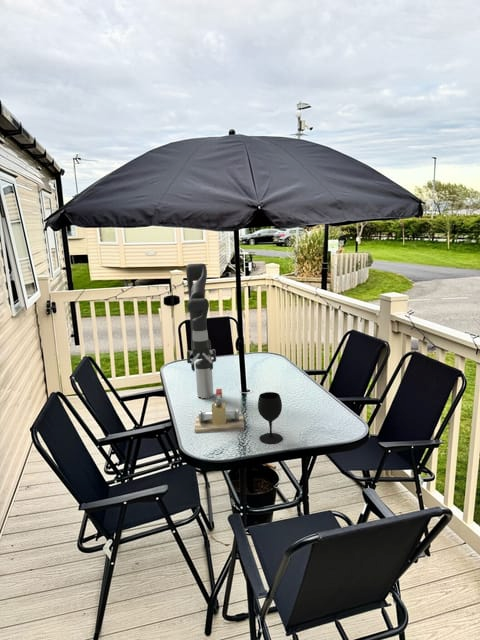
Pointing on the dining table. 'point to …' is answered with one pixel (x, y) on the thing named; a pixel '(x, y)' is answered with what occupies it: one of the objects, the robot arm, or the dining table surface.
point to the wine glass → (270, 415)
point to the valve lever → (218, 397)
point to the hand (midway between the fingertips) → (202, 370)
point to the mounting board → (219, 425)
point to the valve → (219, 415)
